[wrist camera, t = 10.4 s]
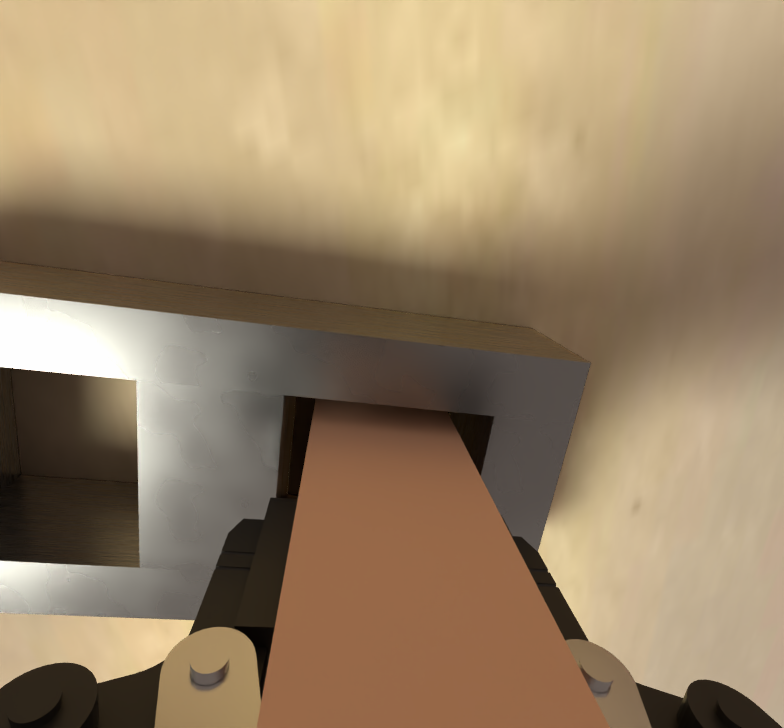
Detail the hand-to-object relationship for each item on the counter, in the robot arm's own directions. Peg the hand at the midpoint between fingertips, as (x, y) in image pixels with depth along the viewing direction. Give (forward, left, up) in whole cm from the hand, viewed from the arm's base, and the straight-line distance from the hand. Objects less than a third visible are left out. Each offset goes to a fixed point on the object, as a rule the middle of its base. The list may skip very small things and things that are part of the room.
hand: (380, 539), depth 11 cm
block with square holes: (-4, 0, -6) cm, 7 cm away
